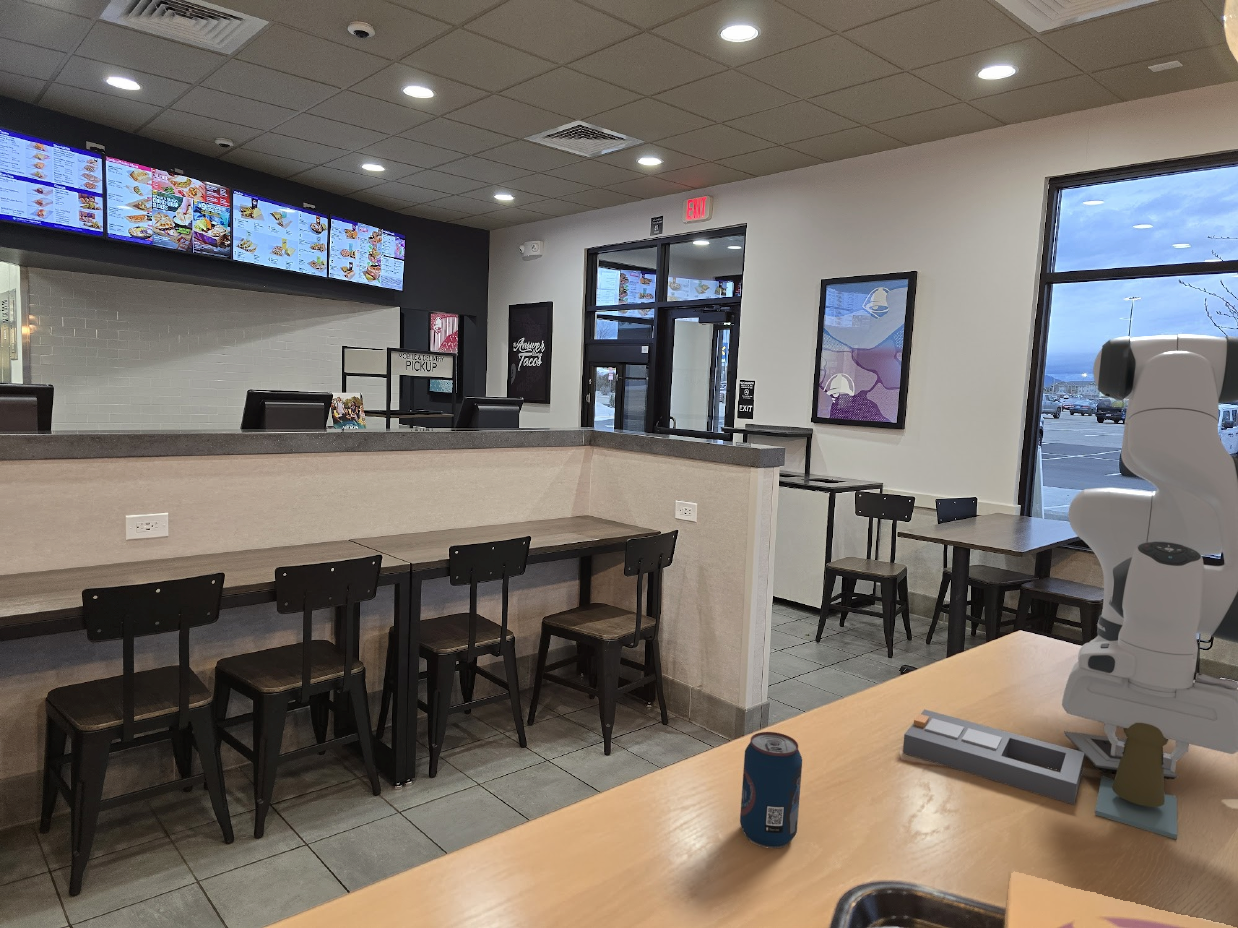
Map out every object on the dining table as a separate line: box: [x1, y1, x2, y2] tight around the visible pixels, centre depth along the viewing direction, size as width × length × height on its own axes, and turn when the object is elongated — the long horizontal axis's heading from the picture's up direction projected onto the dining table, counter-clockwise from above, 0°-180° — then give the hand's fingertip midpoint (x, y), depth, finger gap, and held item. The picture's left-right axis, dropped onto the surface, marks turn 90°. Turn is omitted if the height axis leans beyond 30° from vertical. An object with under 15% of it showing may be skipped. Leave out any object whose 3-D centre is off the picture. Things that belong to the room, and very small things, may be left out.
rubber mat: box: [1094, 775, 1178, 840], centre depth 108 cm, size 12×9×1 cm
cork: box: [1112, 723, 1169, 807], centre depth 107 cm, size 6×6×11 cm
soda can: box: [739, 731, 803, 849], centre depth 96 cm, size 7×7×12 cm
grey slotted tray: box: [902, 709, 1085, 806], centre depth 119 cm, size 12×23×4 cm, turn 55°
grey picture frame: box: [1063, 730, 1178, 780], centre depth 119 cm, size 13×10×2 cm
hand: (1142, 761), depth 107 cm, fingers closed on cork, 4 cm apart
